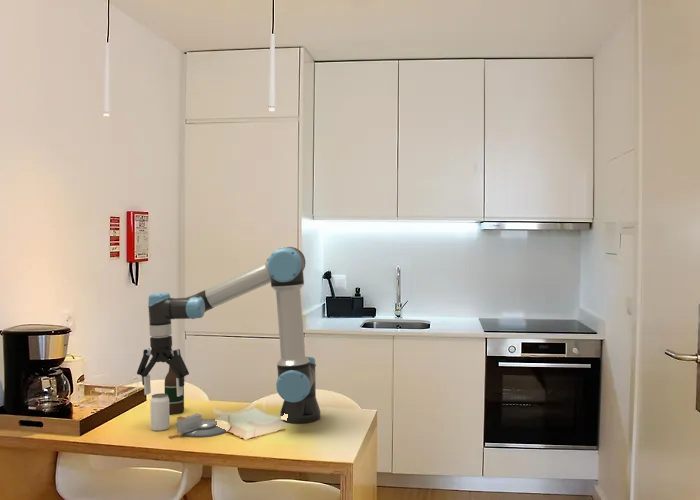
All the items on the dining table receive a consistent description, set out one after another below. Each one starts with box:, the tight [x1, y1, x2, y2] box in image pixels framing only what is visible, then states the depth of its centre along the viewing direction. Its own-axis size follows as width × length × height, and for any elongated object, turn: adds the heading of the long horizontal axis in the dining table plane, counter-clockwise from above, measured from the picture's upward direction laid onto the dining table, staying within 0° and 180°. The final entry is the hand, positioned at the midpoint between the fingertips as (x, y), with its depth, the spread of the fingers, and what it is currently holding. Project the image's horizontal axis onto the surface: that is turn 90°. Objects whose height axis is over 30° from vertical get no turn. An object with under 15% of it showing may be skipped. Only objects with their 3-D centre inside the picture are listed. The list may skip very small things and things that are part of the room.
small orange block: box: [168, 433, 179, 440], centre depth 214 cm, size 3×1×1 cm, turn 134°
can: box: [149, 392, 170, 432], centre depth 223 cm, size 6×6×12 cm
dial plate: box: [181, 418, 227, 438], centre depth 223 cm, size 18×18×1 cm
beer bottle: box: [164, 354, 185, 416], centre depth 244 cm, size 8×8×24 cm
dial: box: [176, 413, 217, 435], centre depth 220 cm, size 15×8×5 cm, turn 141°
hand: (163, 394), depth 225 cm, fingers open, 13 cm apart
